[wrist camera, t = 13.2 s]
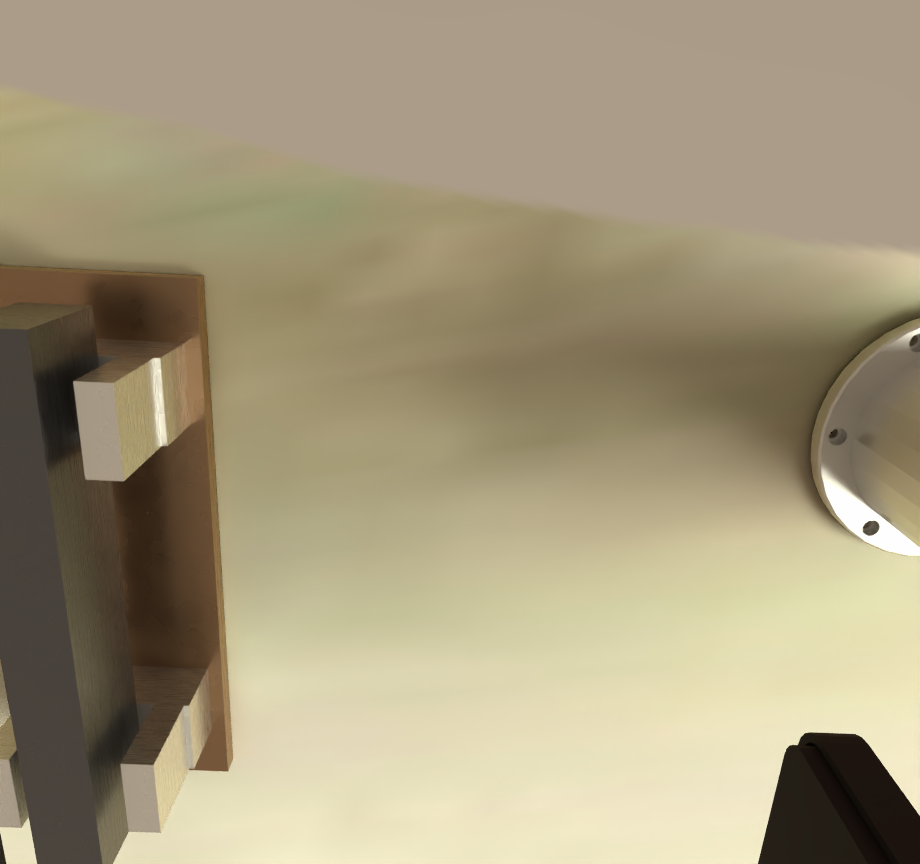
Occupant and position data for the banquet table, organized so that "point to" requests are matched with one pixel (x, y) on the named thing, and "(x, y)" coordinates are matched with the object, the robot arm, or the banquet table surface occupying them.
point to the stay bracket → (150, 521)
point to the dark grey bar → (61, 594)
